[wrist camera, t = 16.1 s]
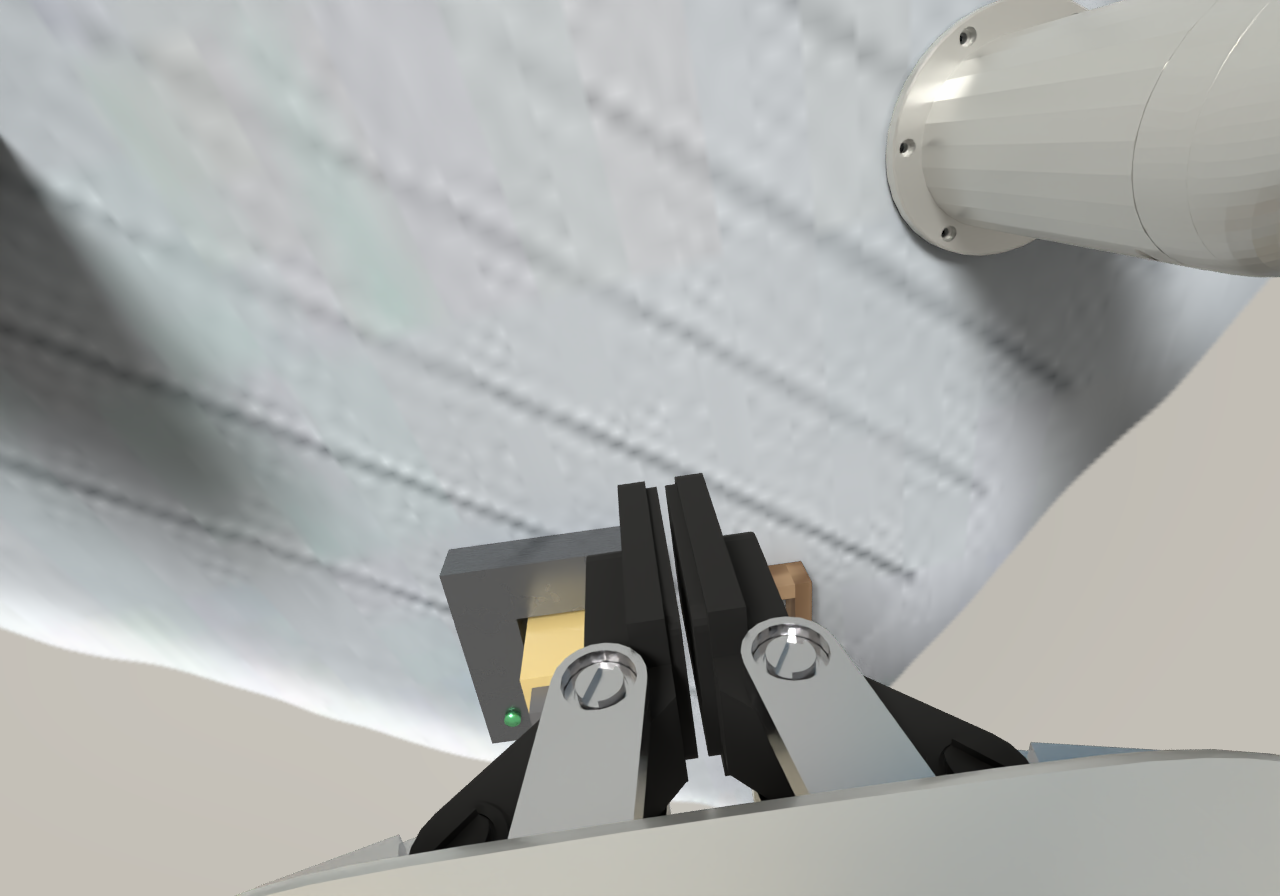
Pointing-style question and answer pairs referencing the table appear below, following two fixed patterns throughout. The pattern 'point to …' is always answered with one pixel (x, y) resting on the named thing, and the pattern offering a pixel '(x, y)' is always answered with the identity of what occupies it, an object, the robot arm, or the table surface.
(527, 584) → the port
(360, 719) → the table surface
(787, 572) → the frame
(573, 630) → the plug
